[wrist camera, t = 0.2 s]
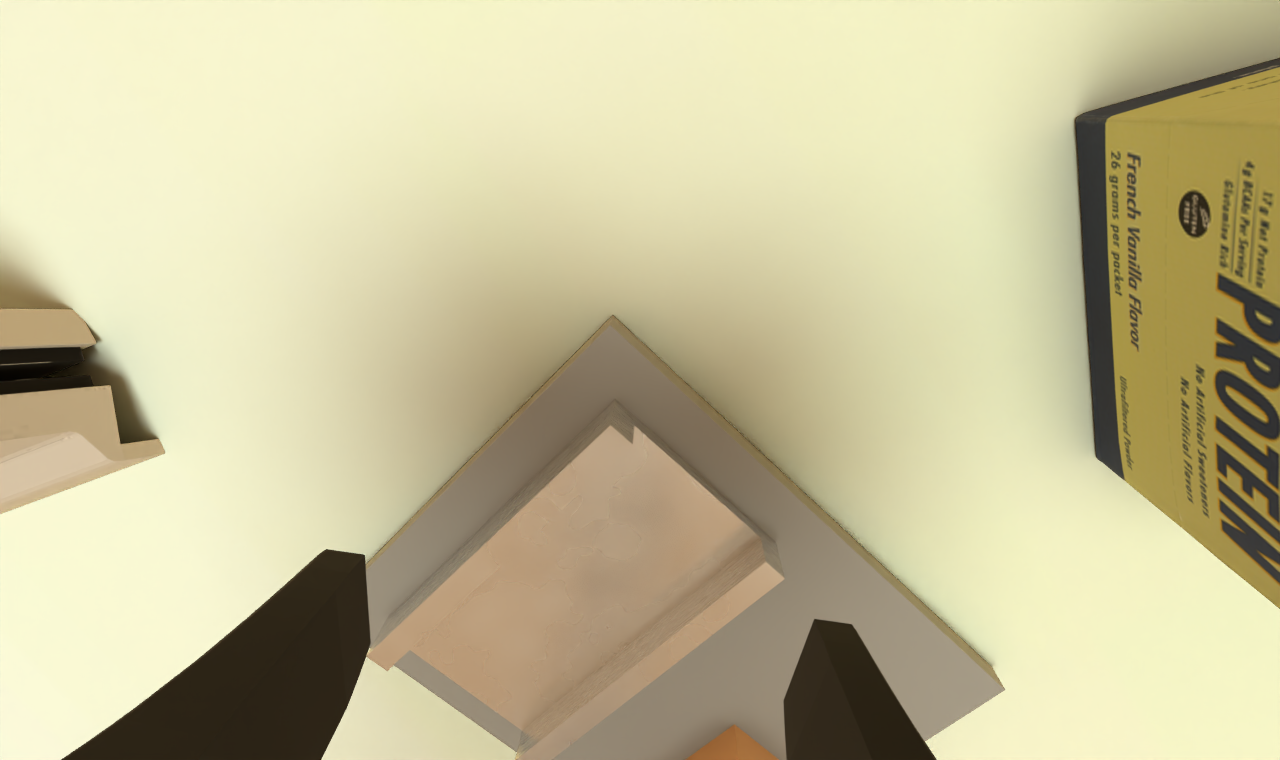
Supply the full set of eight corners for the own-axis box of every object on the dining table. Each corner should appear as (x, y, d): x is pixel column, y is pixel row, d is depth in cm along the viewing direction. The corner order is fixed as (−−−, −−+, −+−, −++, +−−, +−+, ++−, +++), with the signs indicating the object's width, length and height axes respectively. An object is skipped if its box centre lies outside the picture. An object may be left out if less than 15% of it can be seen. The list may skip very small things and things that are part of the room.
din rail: (542, 728, 25) (533, 774, 23) (387, 616, 23) (366, 656, 22) (775, 542, 22) (784, 578, 20) (615, 398, 20) (610, 424, 19)
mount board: (701, 858, 28) (702, 883, 28) (335, 595, 24) (322, 614, 23) (992, 667, 24) (1005, 690, 24) (612, 314, 20) (610, 325, 19)
